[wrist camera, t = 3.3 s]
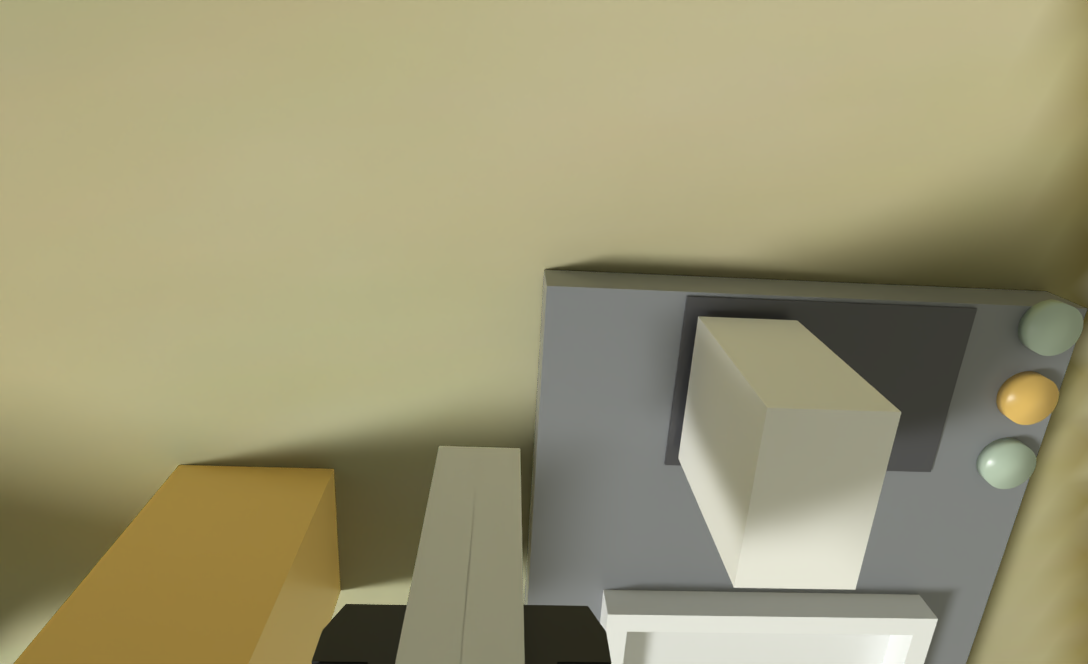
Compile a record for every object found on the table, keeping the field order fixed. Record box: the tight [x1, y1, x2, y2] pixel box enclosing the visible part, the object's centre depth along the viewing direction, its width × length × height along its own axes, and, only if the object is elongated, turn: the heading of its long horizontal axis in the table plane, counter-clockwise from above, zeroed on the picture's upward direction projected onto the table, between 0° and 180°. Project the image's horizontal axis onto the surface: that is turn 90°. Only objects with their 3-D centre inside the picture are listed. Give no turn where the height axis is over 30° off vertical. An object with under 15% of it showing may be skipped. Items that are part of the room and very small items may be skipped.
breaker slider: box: [678, 316, 901, 590], centre depth 16 cm, size 4×2×5 cm, turn 177°
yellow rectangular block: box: [14, 465, 341, 664], centre depth 18 cm, size 4×4×8 cm
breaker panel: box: [524, 270, 1087, 664], centre depth 22 cm, size 21×14×2 cm, turn 177°
